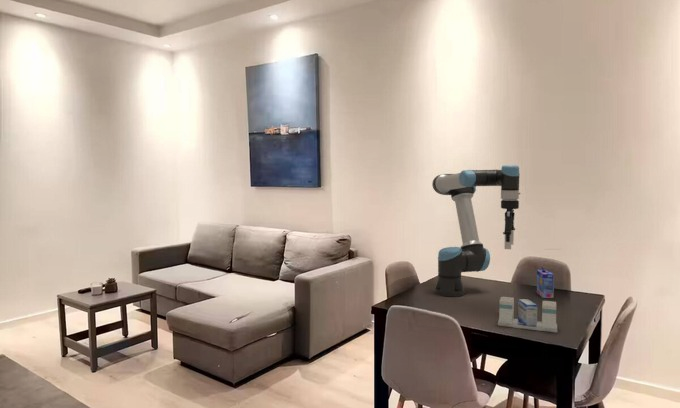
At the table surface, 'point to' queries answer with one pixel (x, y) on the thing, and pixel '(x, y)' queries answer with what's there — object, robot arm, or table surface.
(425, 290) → the table surface
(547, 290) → the ink cartridge box
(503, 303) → the white u-shaped block
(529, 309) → the medicine box
